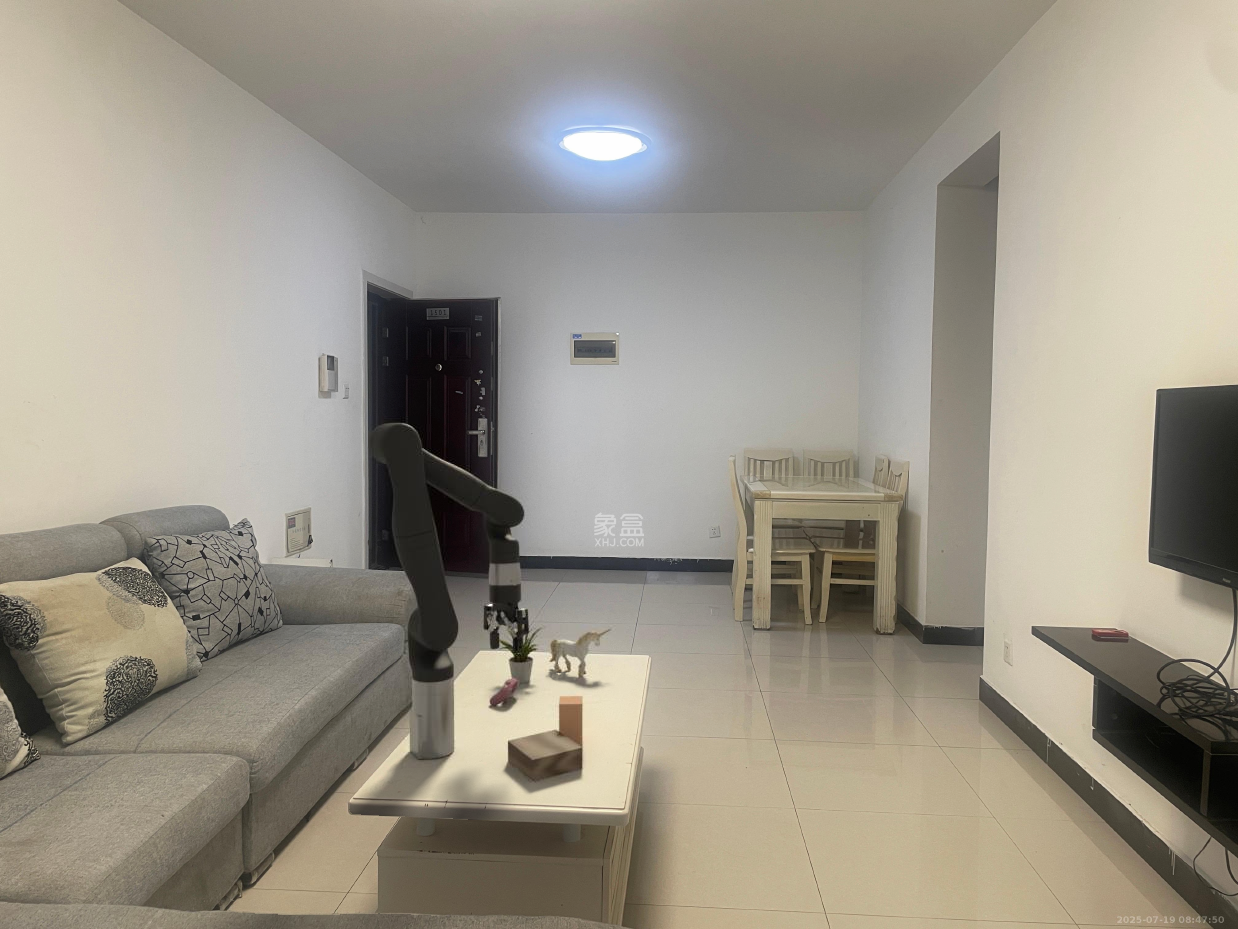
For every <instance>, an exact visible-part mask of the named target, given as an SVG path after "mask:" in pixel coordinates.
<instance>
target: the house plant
mask: <svg viewBox="0 0 1238 929" xmlns="http://www.w3.org/2000/svg"><path fill="white" fill-rule="evenodd" d="M501 628H502V629H503V630H505V631H506V632H507V633H509V635H510V636H511V638H512V639H513V638H514V637H513V635H512V633H511V631H510V630H509V629H508V628H503V627H501ZM545 628H546V626H543V627H540V628H538V629H536V628H532V629H529V633H530V632H531V631H533V630H535V629H536V630H535V631H534V632H533V633H532V634H531V636H530V637H528V636H529V634H526V635H524V637H523V638H522V642H523V649H522V652H521V653H518V654H514V653H513V640H511V639H510V637H508V636H507V635H505V634H504V633H500V634H501V635H504V637H506V638H507V639H508V640H509V641H511V643H512V644H510V643H509V642H507V641H505V640H503V639H501V638H499V643H500V644H501V645H502V646H503V647H499V648H498V650H502V649H503V650H504V649H507V650H508V651H510V653H511V654H512V655H513V656H512V657H510V658H508V664H509V670H510V675H511V679H512V678H513V679H517V680H518V681H520V683H519V684H525V683H528V682H530V681H531V676H532V668H533V662H534V658H533V657H532V656H529V655H530V654H531V653H532V652H534V651H535V652H537V650H538V648H536V647H537V646H538V647H540V645H538V644H532V643H533V641H534V640H535V639H536V638H537V637H538V636H539V635H540V633H538V632H540V631H541V630H542V629H545ZM522 629H523V630H524V624H523V625H522ZM537 633H538V634H537Z"/></svg>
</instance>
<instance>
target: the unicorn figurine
mask: <svg viewBox="0 0 1238 929" xmlns="http://www.w3.org/2000/svg"><path fill="white" fill-rule="evenodd" d="M611 630H612V628H609V629H606V630H605V631H602V632H599V631H598V629H597V630H592V631H588V632H586V633H583V634H582V635H581V636H579V638H578V639H577V640H576V641H571V640H569V639H567V638H566V639H565V638H564V639H560V640H559V639H558V638H553V639H552V640H551V641H550V644H549V647H550V649H551V650H550V651H551V652H550V655H551V658H550V660H548V661H549V663H553V662H554V666H553V668H554V670H555V671H557V673H562V672H563V671H562V668H561V667H560V665H559V660H560V658H561V657H562V658H563V659H564V660H565V661H564V664H565V665H566V669H567V670H571V666H572V664H571V661H570V660H569V659H568V657H567V656H569V657H572V658H577V659H578V660H579V661H580V664H579V665H578V666H577V668H578V671H577V674H578V676H577V677H579V676H580V677H582V676H583V673H585V674H587V671H586V666H587V664H586V661H585V659H586V656H587V655H588V653H589V646H590V644H591V643H592V642H593V643H594V646H596V647H600V645H601V636H603V635H605V634H607V633H608V632H610V631H611Z"/></svg>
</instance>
